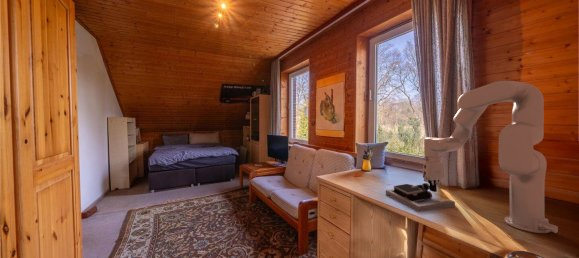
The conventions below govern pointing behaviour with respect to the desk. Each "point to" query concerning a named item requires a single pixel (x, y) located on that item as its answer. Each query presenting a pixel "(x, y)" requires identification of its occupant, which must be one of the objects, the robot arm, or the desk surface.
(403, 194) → the film camera
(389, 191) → the stand
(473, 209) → the desk surface
